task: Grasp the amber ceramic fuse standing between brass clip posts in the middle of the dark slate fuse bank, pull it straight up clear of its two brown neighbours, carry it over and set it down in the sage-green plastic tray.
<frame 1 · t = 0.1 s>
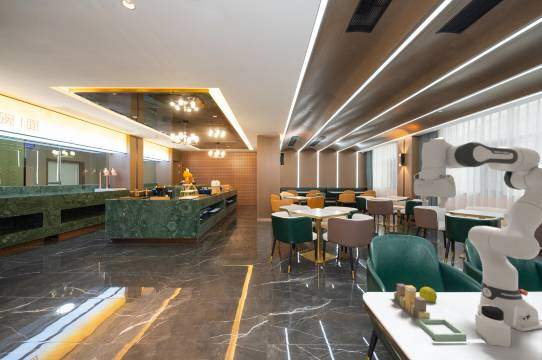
hand: (433, 207, 101), 48 cm above the table, fingers open, 8 cm apart
tray: (440, 333, 90), on the table
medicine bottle: (492, 340, 87), on the table
holder: (410, 311, 105), on the table
fuse: (410, 309, 105), point 1 cm above the table, touching holder
tennis ball: (427, 302, 115), on the table
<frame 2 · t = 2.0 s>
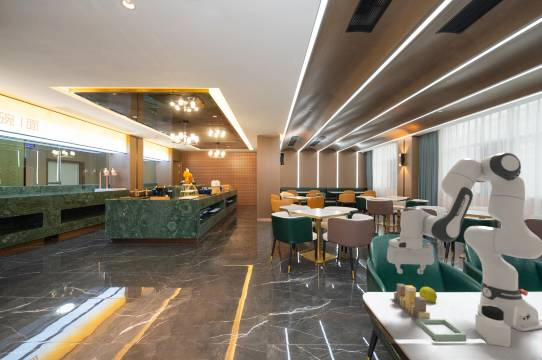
hand: (410, 273, 106), 17 cm above the table, fingers open, 8 cm apart
nothing on the table moved.
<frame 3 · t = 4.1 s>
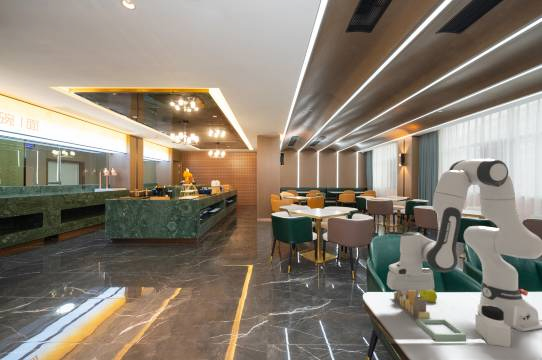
hand: (410, 298, 105), 6 cm above the table, fingers closed on fuse, 3 cm apart
fuse: (410, 309, 105), point 1 cm above the table, touching gripper, holder
everything else where it was.
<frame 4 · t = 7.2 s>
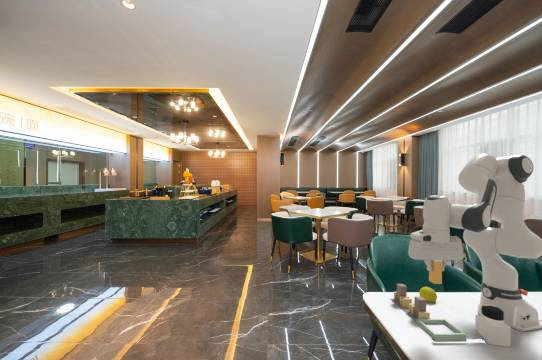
hand: (435, 270, 93), 23 cm above the table, fingers closed on fuse, 3 cm apart
fuse: (435, 282, 93), point 19 cm above the table, touching gripper
everything else where it was.
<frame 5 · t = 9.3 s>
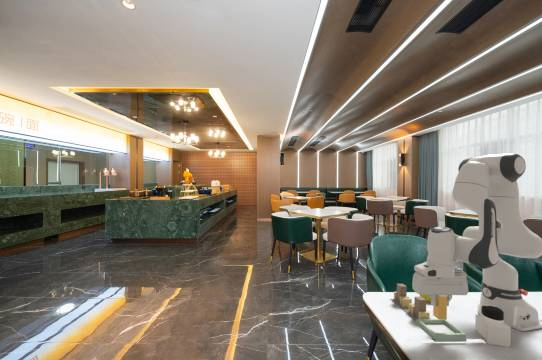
hand: (439, 305, 90), 11 cm above the table, fingers closed on fuse, 3 cm apart
fuse: (439, 317, 90), point 6 cm above the table, touching gripper
everything else where it was.
when the fingers open (6 cm above the table, at t = 10.7 s): fuse stays where it is, resting on tray.
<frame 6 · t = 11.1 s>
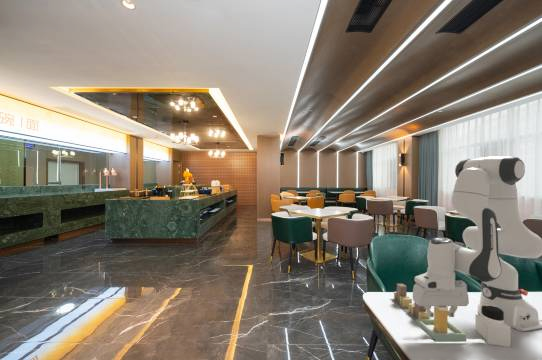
hand: (440, 316, 90), 6 cm above the table, fingers open, 7 cm apart
fuse: (440, 331, 90), point 1 cm above the table, touching tray
everything else where it was.
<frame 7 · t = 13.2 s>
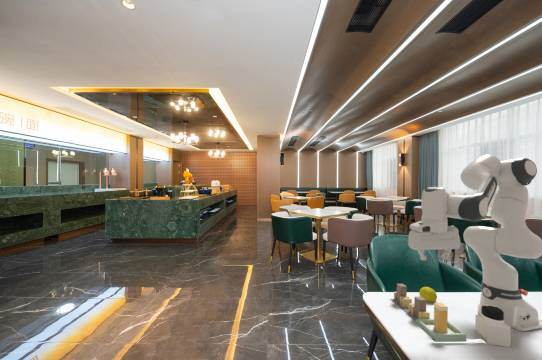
hand: (434, 259, 96), 27 cm above the table, fingers open, 8 cm apart
nothing on the table moved.
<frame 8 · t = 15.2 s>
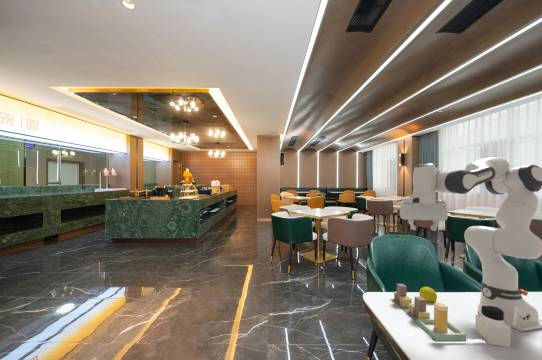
hand: (423, 230, 105), 37 cm above the table, fingers open, 8 cm apart
nothing on the table moved.
at the end: fuse inside the target area on the tray (0.1 cm from its centre), point 0.8 cm above the tray's base; the gripper is holding nothing; fuse touching tray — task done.
